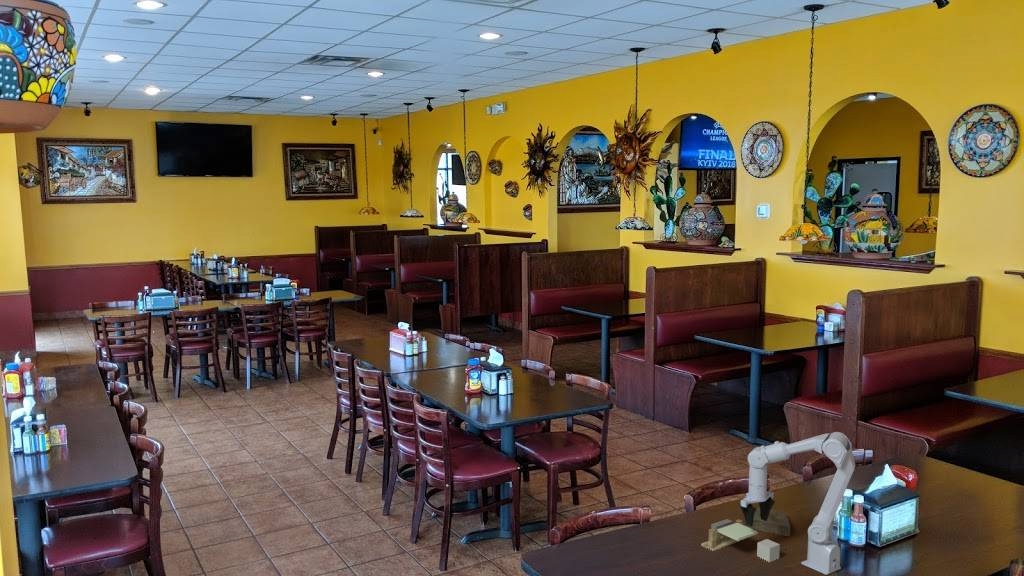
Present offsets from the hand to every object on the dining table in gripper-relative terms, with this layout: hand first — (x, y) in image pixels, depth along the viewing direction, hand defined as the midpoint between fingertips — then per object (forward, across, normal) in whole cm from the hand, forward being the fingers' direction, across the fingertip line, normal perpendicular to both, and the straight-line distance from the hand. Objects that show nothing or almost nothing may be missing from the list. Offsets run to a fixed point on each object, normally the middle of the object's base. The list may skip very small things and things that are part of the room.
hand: (756, 522), depth 266 cm
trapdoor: (+4, +5, -6) cm, 9 cm away
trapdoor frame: (+10, +4, -11) cm, 15 cm away
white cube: (+8, +1, +5) cm, 9 cm away
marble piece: (+11, -20, -11) cm, 26 cm away
